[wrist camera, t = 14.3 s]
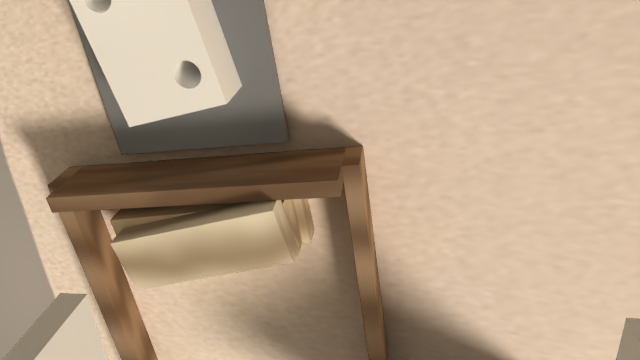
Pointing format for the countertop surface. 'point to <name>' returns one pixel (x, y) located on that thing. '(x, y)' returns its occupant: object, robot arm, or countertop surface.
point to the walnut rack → (209, 188)
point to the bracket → (160, 55)
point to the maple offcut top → (207, 244)
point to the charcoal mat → (221, 121)
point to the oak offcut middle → (152, 214)
